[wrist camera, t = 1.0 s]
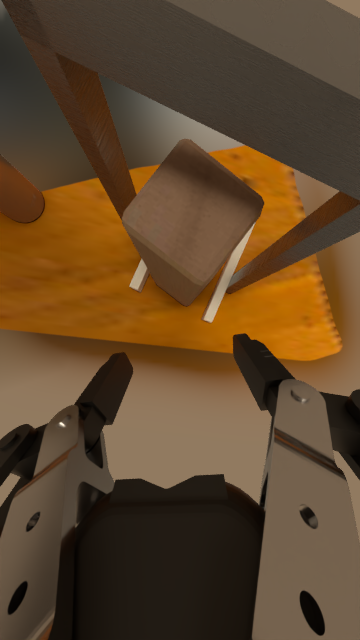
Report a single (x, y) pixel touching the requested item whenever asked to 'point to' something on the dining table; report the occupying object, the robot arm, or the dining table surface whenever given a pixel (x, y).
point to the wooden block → (190, 220)
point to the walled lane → (221, 285)
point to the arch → (216, 90)
